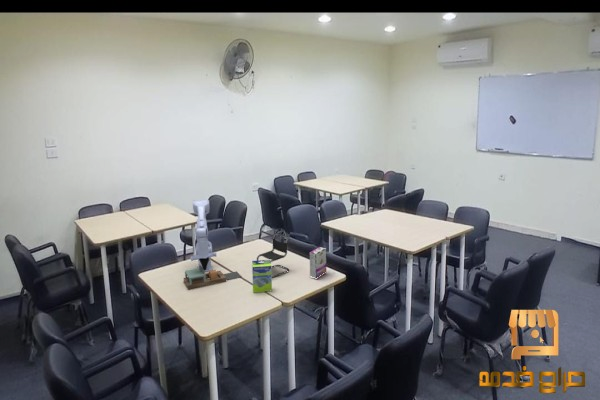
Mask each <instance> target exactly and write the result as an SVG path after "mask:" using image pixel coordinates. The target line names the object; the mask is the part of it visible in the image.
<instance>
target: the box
mask: <svg viewBox="0 0 600 400" xmlns="http://www.w3.org/2000/svg"><path fill="white" fill-rule="evenodd" d="M270 261H271V259H260V260H259V259H258V261H257V260H252V264H251V269H252V270H251V272H252V273H251V274H252V293H253V292H255V293H263V292H264V293H265V291H267V292H271V291H270V290H272V291H273V288H272V287H273V285H272V284H273V281H272V280H273V278H272V276H273V275H272V274H273V273H272V268H271V266H272V262H271V263H270Z"/></svg>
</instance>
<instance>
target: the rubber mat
mask: <svg viewBox="0 0 600 400" xmlns="http://www.w3.org/2000/svg"><path fill="white" fill-rule="evenodd" d="M223 275H224V276H225V277H226V281H231V280H235V279H241V278H242V275H241V274H240V273H239V271H237V270H236V271H231V272H227V273H223Z"/></svg>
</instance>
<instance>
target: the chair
mask: <svg viewBox="0 0 600 400" xmlns="http://www.w3.org/2000/svg"><path fill="white" fill-rule="evenodd" d="M276 236H279V237H283V238H285V242H281V241H278V240H276V239H275V237H276ZM290 239H291V237H290V236H287V235H285V234H281V233H279V232H278V233H274V234H273V235H272V249H271V250H270V251H266V252H263V253H261V254H260V253H259V255H258V256H257V257H256V261H258V260H259V259H260V257H263V258H265V259H266V260H270V263H271V264H272V263H273V262H275V261H278V260H281V259H284V258H285V257H286V256H287V255H288V241H289V240H290ZM275 250H276V251H278V252H281V253H284V254H278V253H276V252H274V251H275ZM274 266H282V267H284V268H286V269H288V270H286V269H285V270H284V271H282V272H280V273H277V274H275V275H272V277H274V276H277V275H279V274H282V273H284V272H287V271H289V272H290V269H289V268H288V267H285V266H284V265H280V264H275V265H271V267H274ZM274 268H275V267H274ZM284 268H283V269H284ZM287 273H288V272H287ZM284 274H285V273H284ZM282 275H283V274H282ZM279 276H280V275H279ZM277 277H278V276H277ZM274 278H275V277H274Z"/></svg>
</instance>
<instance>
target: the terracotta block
mask: <svg viewBox="0 0 600 400" xmlns="http://www.w3.org/2000/svg"><path fill="white" fill-rule="evenodd" d="M217 271H218V270H216V269H213V270H211V271H208V273H209V278H208V279H209V280H211V279H216V278H218V276H217Z"/></svg>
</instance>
